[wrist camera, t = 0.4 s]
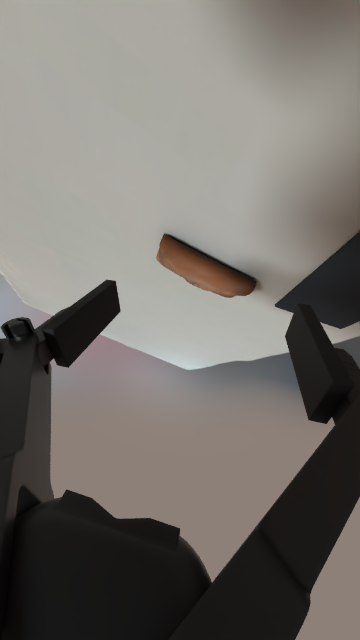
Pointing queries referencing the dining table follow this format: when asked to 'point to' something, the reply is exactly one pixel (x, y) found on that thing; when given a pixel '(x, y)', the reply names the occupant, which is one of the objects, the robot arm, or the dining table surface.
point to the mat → (331, 288)
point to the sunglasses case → (203, 270)
